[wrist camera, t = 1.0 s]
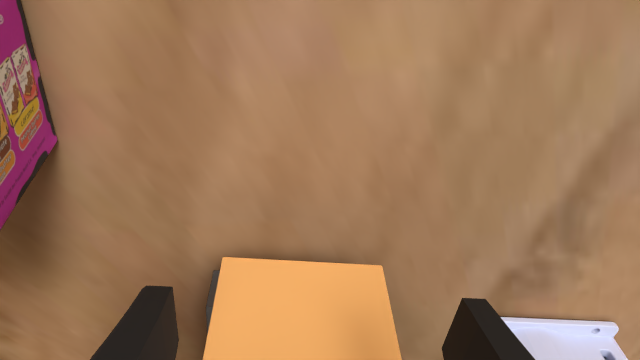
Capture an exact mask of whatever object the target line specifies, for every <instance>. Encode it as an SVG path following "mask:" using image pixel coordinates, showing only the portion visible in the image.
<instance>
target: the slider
mask: <svg viewBox="0 0 640 360" xmlns="http://www.w3.org/2000/svg"><path fill="white" fill-rule="evenodd" d="M203 360H402V359H401V354H400V349H399V345H398V340H397V335H396V330H395V325H394V321H393V316H392V311H391V306H390V302H389V297H388V292H387V287H386V282H385V278H384V273H383V268H382V266H381V265H362V264H343V263H325V262H306V261H287V260H269V259H250V258H232V257H223V258H222V264H221V269H220V274H219V279H218V284H217V289H216V294H215V299H214V305H213V310H212V315H211V320H210V325H209V330H208V335H207V340H206V346H205V351H204V356H203Z"/></svg>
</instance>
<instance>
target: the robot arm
mask: <svg viewBox="0 0 640 360" xmlns="http://www.w3.org/2000/svg"><path fill="white" fill-rule="evenodd" d="M618 330H619V329H618V326H617V325H616V324H615V323H614V322H605V321H582V320H559V319H536V318H513V317H500V316H499V315H498V314H497V313H496V311H495V310H494V309H493V308H492V306H491V305H490V304H489V303H488V302H487V300H486V299H472V298H462V300H461V302H460V305H459V307H458V310H457V312H456V315H455V317H454V319H453V322H452V324H451V327H450V329H449V332H448V334H447V337H446V339H445V341H444V344H443V346H442V351H443V357H444V360H628V359H627V358H626V356H625V355H624V353H623V352H622V350H621V349H620V347H619V346H618V344H617V343H616V341H615V340H614V338H613V337H614V336H615V335H616V333H617V332H618ZM178 341H179V338H178V330H177V321H176V313H175V304H174V296H173V288H172V287H166V286H145V287H144V288H143V289H142V290H141V291H140V293H139V294H138V296H137V297H136V299H135V300H134V302H133V303H132V305H131V306H130V307H129V309H128V310H127V312H126V313H125V314H124V316H123V317H122V319H121V320H120V321H119V323H118V324H117V325H116V327H115V328H114V329H113V331H112V332H111V333H110V335H109V336H108V337H107V339H106V340H105V341H104V342H103V344H102V345H101V346H100V347H99V349H98V350H97V351H96V352H95V354H94V355H93V356H92V358H91V359H90V360H175V358H176V352H177V347H178Z"/></svg>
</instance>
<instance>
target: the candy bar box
mask: <svg viewBox="0 0 640 360" xmlns="http://www.w3.org/2000/svg"><path fill="white" fill-rule="evenodd" d="M56 142H57V136H56V134H55V131H54V128H53V124H52V121H51V116H50V113H49V109H48V104H47V100H46V96H45V93H44V89H43V85H42V82H41V78H40V72H39V69H38V65H37V62H36V58H35V55H34V51H33V47H32V43H31V39H30V36H29V32H28V28H27V24H26V21H25V16H24V13H23V9H22V5H21V1H20V0H0V230H1V228H2V227H3V225H4V224H5V222H6V220H7V219H8V217H9V215H10V214H11V212H12V211H13V209H14V208H15V206H16V204H17V203H18V201H19V200H20V198H21V197H22V195H23V193H24V192H25V190H26V189H27V187H28V186H29V184H30V182H31V181H32V179H33V178H34V176H35V175H36V173H37V172H38V170H39V169H40V167H41V166H42V164H43V162H44V161H45V159H46V158H47V156H48V154H49V153H50V152H51V150H52V149H53V147H54V145H55V144H56Z"/></svg>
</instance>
